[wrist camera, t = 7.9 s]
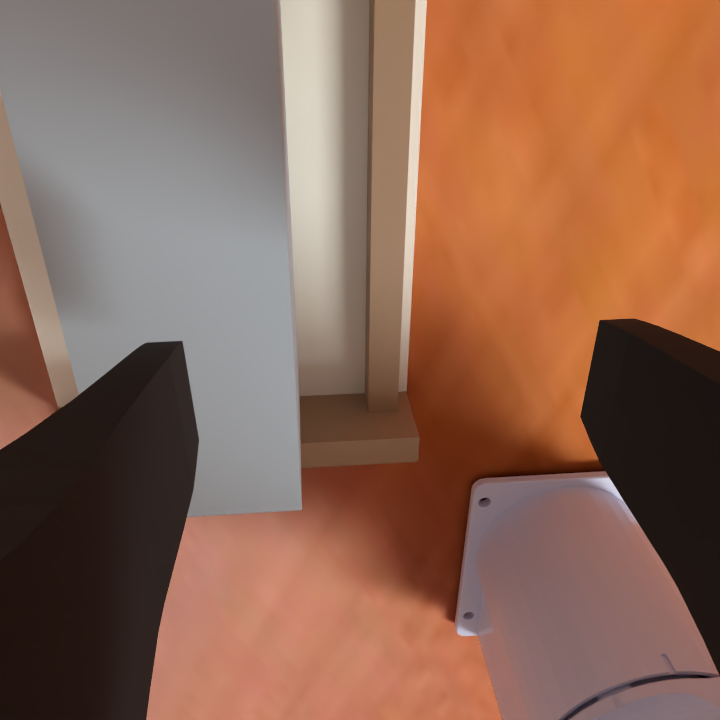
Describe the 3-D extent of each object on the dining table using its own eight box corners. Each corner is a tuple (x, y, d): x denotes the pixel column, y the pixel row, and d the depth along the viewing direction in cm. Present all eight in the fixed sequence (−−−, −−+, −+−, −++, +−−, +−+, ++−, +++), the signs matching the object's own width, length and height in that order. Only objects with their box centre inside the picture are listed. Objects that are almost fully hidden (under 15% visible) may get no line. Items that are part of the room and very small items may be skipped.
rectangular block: (299, 387, 20) (301, 510, 16) (154, 394, 20) (111, 521, 15) (277, -67, 14) (270, -93, 9) (67, -70, 14) (-49, -99, 9)
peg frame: (401, 418, 24) (416, 479, 21) (75, 434, 23) (43, 500, 20) (430, -199, 15) (465, -244, 12) (-101, -216, 14) (-205, -269, 11)
